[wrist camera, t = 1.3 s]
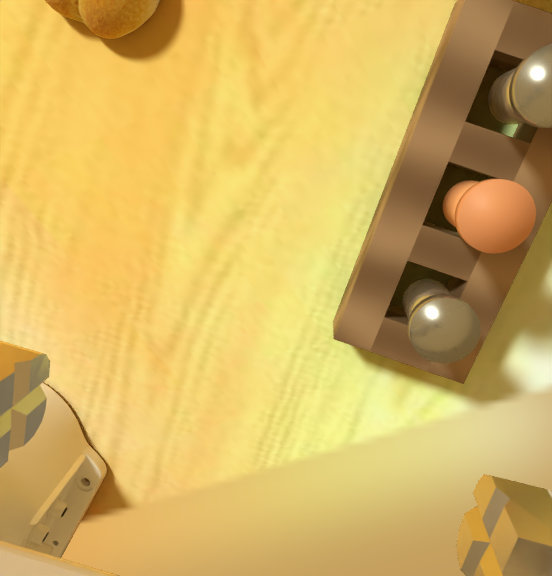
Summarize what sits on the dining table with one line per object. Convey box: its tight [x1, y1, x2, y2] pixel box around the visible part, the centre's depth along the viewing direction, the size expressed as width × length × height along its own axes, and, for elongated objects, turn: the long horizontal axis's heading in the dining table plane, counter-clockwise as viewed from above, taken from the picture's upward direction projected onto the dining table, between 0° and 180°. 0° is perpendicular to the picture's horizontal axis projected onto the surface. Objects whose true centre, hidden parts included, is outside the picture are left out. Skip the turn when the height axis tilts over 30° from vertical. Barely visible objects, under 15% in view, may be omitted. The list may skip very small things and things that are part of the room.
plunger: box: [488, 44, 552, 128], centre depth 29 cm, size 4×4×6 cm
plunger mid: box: [443, 179, 536, 254], centre depth 31 cm, size 4×4×6 cm
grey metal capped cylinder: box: [403, 279, 481, 363], centre depth 33 cm, size 4×4×6 cm
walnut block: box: [333, 0, 552, 384], centre depth 36 cm, size 24×10×4 cm, turn 162°
